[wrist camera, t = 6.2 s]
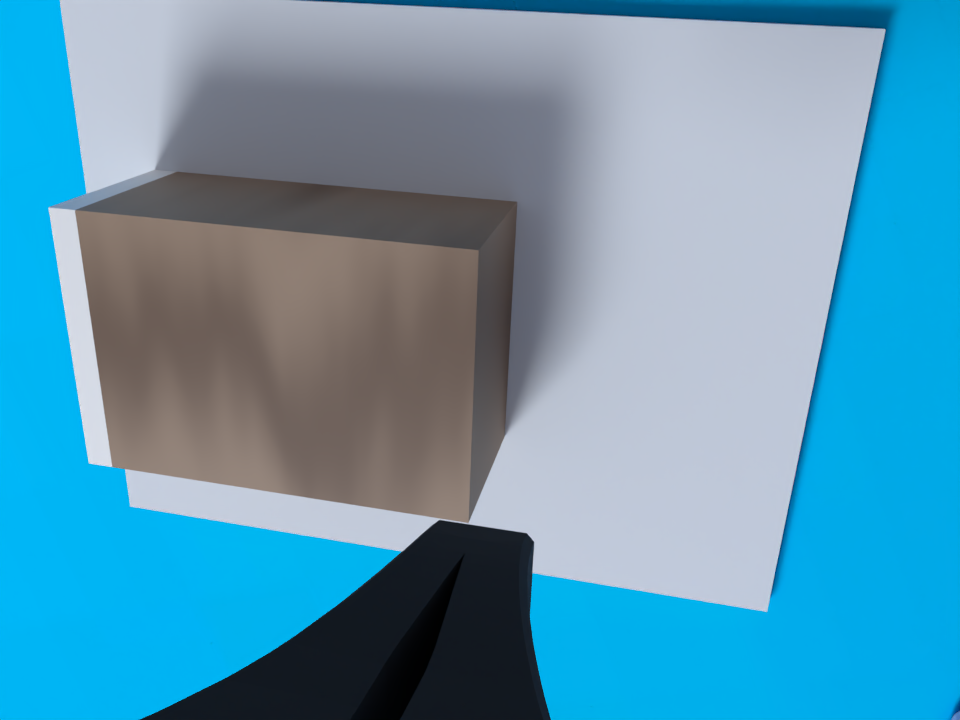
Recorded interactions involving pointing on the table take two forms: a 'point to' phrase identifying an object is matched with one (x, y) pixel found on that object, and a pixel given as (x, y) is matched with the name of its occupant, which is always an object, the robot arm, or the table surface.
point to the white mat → (545, 241)
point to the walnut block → (292, 336)
